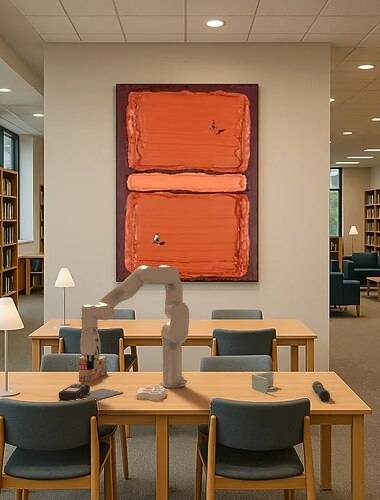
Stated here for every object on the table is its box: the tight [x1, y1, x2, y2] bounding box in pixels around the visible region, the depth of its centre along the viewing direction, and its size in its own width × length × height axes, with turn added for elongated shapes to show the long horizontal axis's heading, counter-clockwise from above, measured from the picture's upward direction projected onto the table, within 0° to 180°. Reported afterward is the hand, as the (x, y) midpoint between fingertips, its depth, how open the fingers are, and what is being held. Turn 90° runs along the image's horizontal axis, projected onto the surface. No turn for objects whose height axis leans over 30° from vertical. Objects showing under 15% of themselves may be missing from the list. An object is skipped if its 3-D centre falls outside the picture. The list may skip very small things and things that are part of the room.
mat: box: [80, 388, 124, 402], centre depth 351 cm, size 14×18×1 cm
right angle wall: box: [251, 371, 277, 394], centre depth 360 cm, size 12×12×8 cm
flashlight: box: [311, 381, 331, 402], centre depth 347 cm, size 5×22×5 cm, turn 0°
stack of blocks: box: [78, 355, 108, 383], centre depth 391 cm, size 21×6×12 cm, turn 163°
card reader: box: [58, 383, 91, 401], centre depth 347 cm, size 9×4×15 cm
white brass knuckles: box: [135, 384, 169, 401], centre depth 349 cm, size 3×18×15 cm
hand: (90, 369), depth 354 cm, fingers closed
